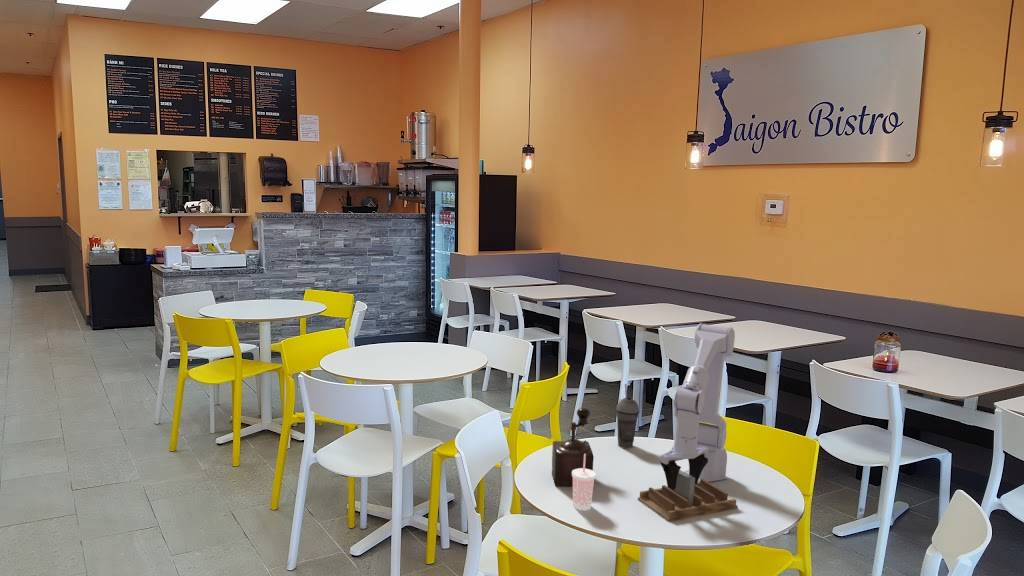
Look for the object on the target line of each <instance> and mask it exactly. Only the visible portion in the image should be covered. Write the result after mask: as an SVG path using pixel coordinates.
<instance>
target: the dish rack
mask: <svg viewBox="0 0 1024 576" xmlns="http://www.w3.org/2000/svg"><path fill="white" fill-rule="evenodd" d="M637 501H638V502H640V503H642V504H643V505H645V506H646V507H647V508H649V510H651V511H652V512H654V513H656V514H657V515H658V516H660V517H661V518H662V519H664V520H665V521H666V522H673V521H677V520H683V519H688V518H694V517H698V516H704V515H710V514H715V513H720V512H724V511H729V510H733V509H735V510H736V509H738V505H737V499H736V498H731V499H729V493H727V492H725V491H724V490H723V489H721V488H719V487H717V486H716V485H715V484H713V483H710V482H707V481H706V480H704V479H700V482H699V481H698V482H697V484H696V485H695V486H694V498H693V507H688V505H689V501H688V500H687V499H685V498H684V497H682V496H681V495H679V494H677V493H676V492H674V491H673V490H671V489H670V488H668V486H667V485H666V484H665V485H664V484H663V485H661V487H659V488H653V487H648V490H642V491H639V497H637Z"/></svg>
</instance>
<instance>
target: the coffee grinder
mask: <svg viewBox="0 0 1024 576" xmlns="http://www.w3.org/2000/svg"><path fill="white" fill-rule="evenodd" d="M576 415H577V417H578V418H579V420H578V422H577V423H576V422H575V421H572V422H571V424H570V426H569V429H570V431H571V437H570V439H566V440H558V441H557V440H555V441H552V449H551V451H552V452H551V453H552V454H551V455H552V456H551V459H552V460H551V477H553V478H552V481H553V480H554V481H553V483H554V486H555V487H559V488H573V477H572V471H573V470H574V469H578V468H583V462H584V454H586V460H585V469H590V470H592V471H594V454H593V453H594V452H593V450H592V448H591V445H590V442H589V441H586V440H580V439H578V438H577V439H576V430H577V428H579V427H584V426H585V425H589V422H588V419H589V417H590V416H591V411H590V410H589V409H588V408H586V407H581V408H579V409H577V411H576Z"/></svg>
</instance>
